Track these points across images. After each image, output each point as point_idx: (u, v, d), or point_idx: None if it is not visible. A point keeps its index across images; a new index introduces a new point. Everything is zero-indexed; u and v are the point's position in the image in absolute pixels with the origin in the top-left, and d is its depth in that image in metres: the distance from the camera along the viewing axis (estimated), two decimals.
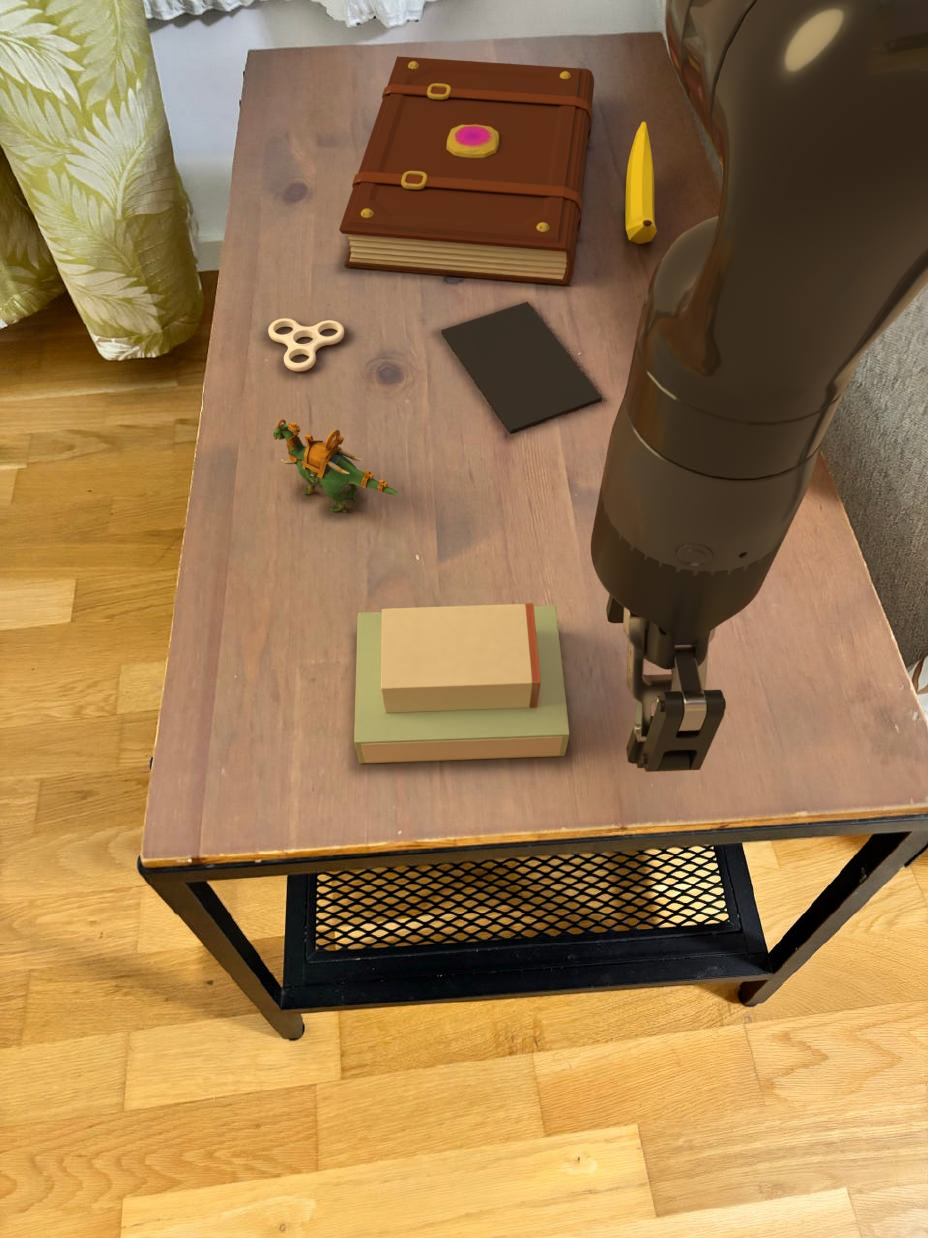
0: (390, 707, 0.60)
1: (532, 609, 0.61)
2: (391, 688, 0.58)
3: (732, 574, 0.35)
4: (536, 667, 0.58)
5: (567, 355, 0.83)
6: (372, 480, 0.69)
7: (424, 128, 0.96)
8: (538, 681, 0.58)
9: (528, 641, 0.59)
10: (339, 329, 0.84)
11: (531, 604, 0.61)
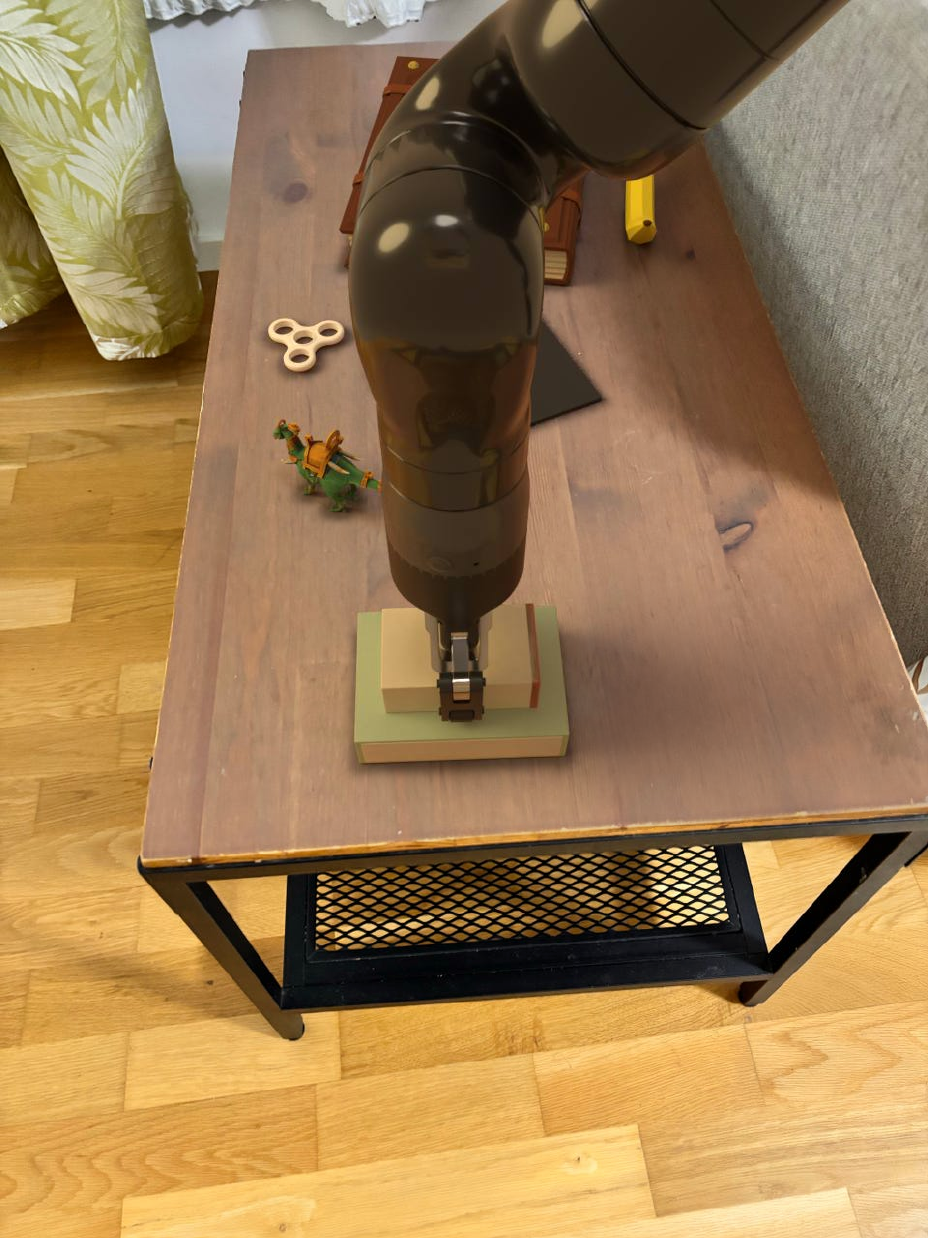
0: (390, 707, 0.60)
1: (532, 609, 0.61)
2: (391, 688, 0.58)
3: (474, 578, 0.47)
4: (536, 667, 0.58)
5: (567, 355, 0.83)
6: (372, 480, 0.69)
7: None
8: (538, 681, 0.58)
9: (528, 641, 0.59)
10: (339, 329, 0.84)
11: (531, 604, 0.61)
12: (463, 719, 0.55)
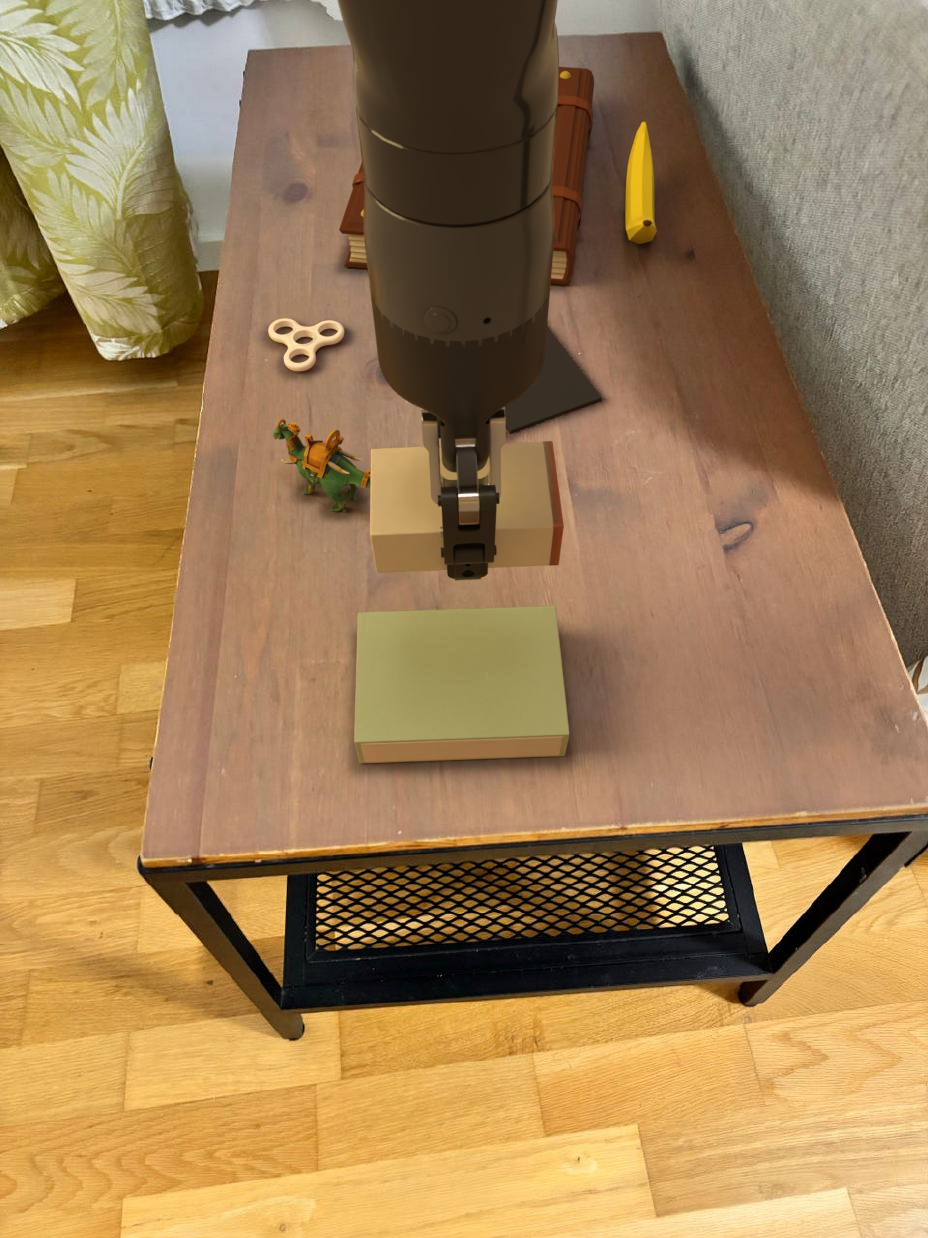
0: (382, 564, 0.50)
1: (551, 447, 0.51)
2: (382, 535, 0.48)
3: (484, 346, 0.37)
4: (558, 509, 0.48)
5: (567, 355, 0.83)
6: None
7: None
8: (561, 525, 0.48)
9: (547, 481, 0.49)
10: (339, 329, 0.84)
11: (550, 442, 0.51)
12: (471, 560, 0.45)
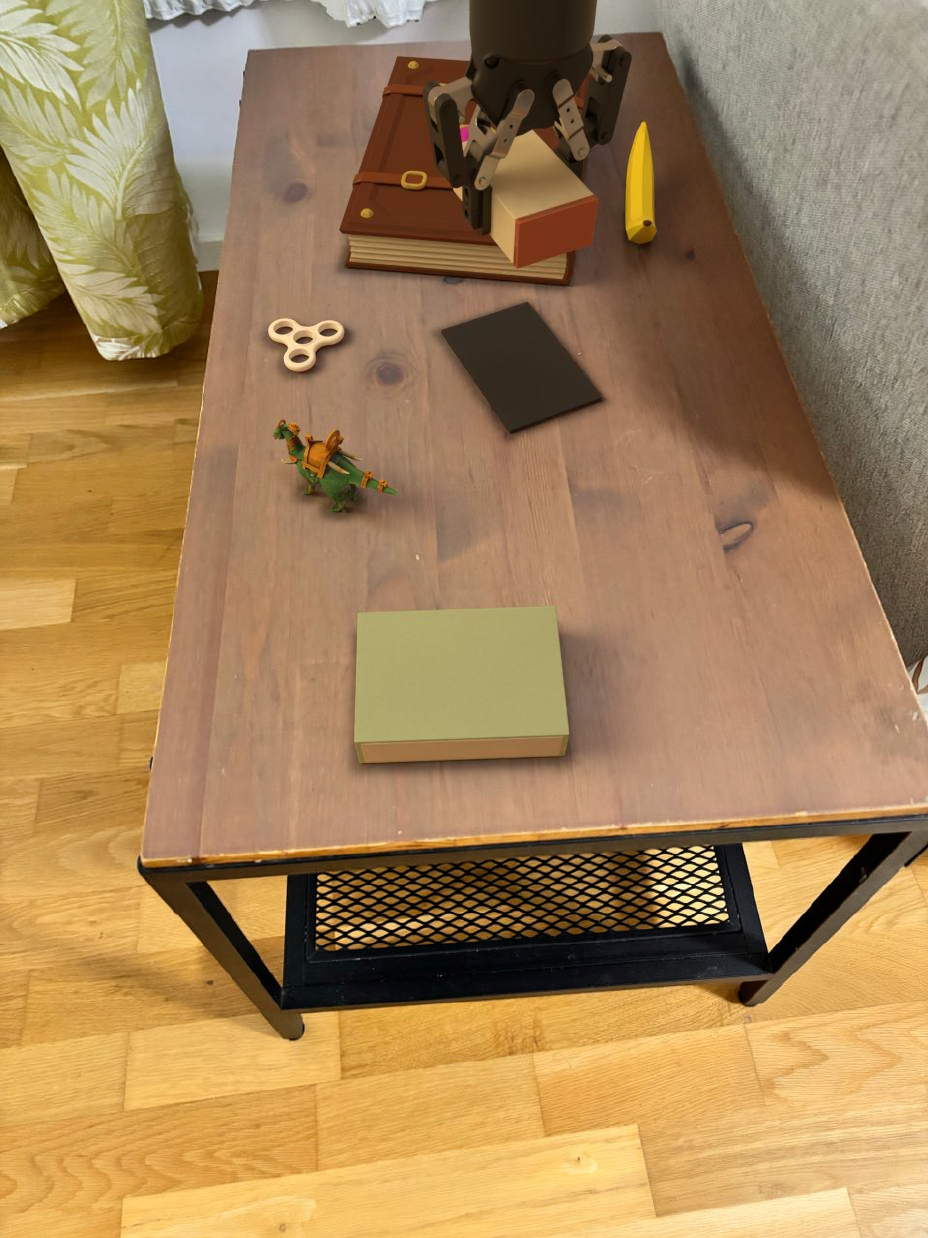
0: None
1: (591, 199, 0.61)
2: None
3: None
4: (532, 217, 0.60)
5: (567, 355, 0.83)
6: (372, 480, 0.69)
7: (424, 127, 0.96)
8: (519, 221, 0.60)
9: (556, 205, 0.61)
10: (339, 329, 0.84)
11: (596, 197, 0.62)
12: (443, 172, 0.60)
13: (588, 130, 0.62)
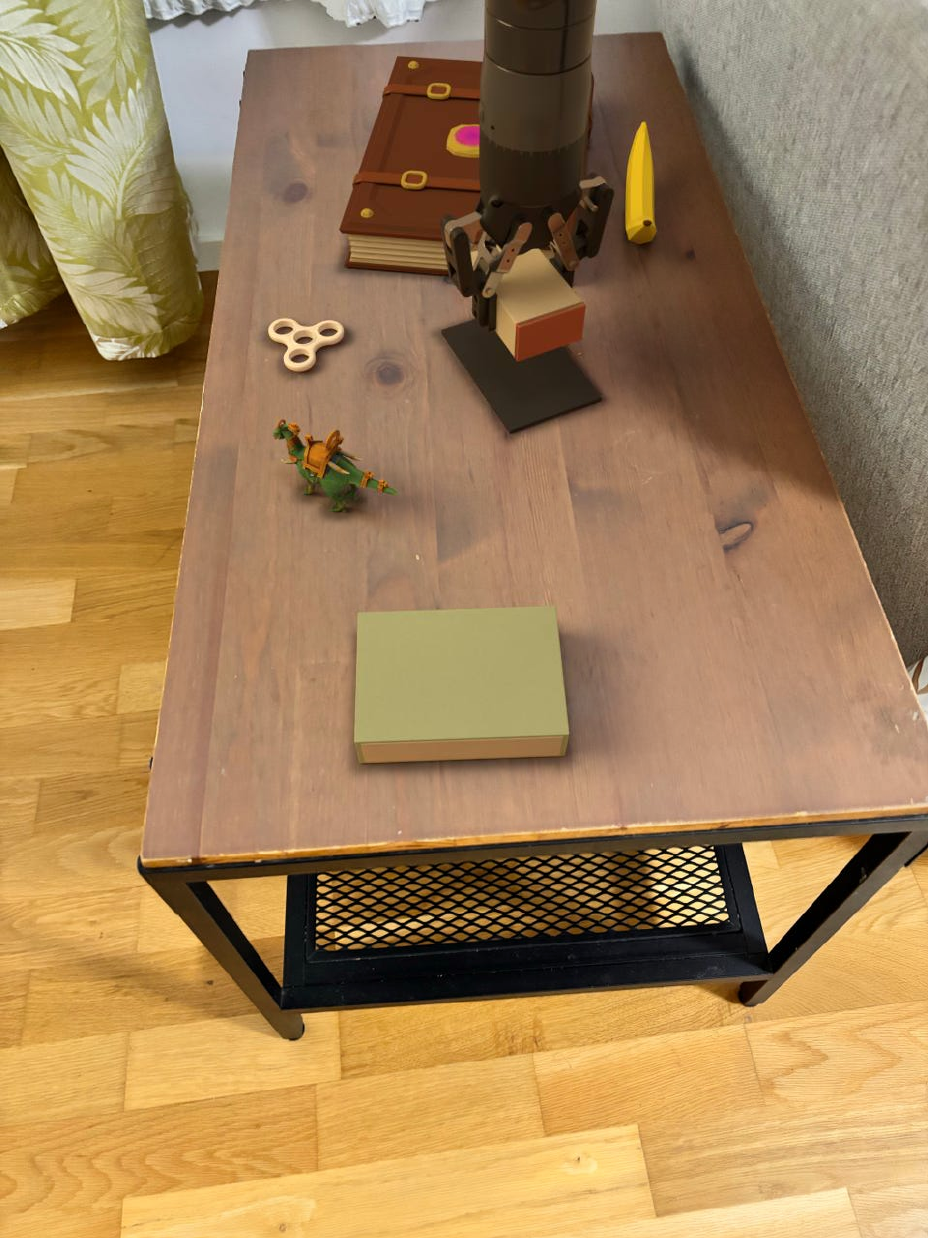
0: None
1: (579, 306, 0.73)
2: None
3: (491, 144, 0.63)
4: (530, 321, 0.72)
5: (567, 355, 0.83)
6: (372, 480, 0.69)
7: (424, 127, 0.96)
8: (519, 326, 0.72)
9: (550, 311, 0.73)
10: (339, 329, 0.84)
11: (584, 304, 0.73)
12: (456, 284, 0.72)
13: (578, 246, 0.74)
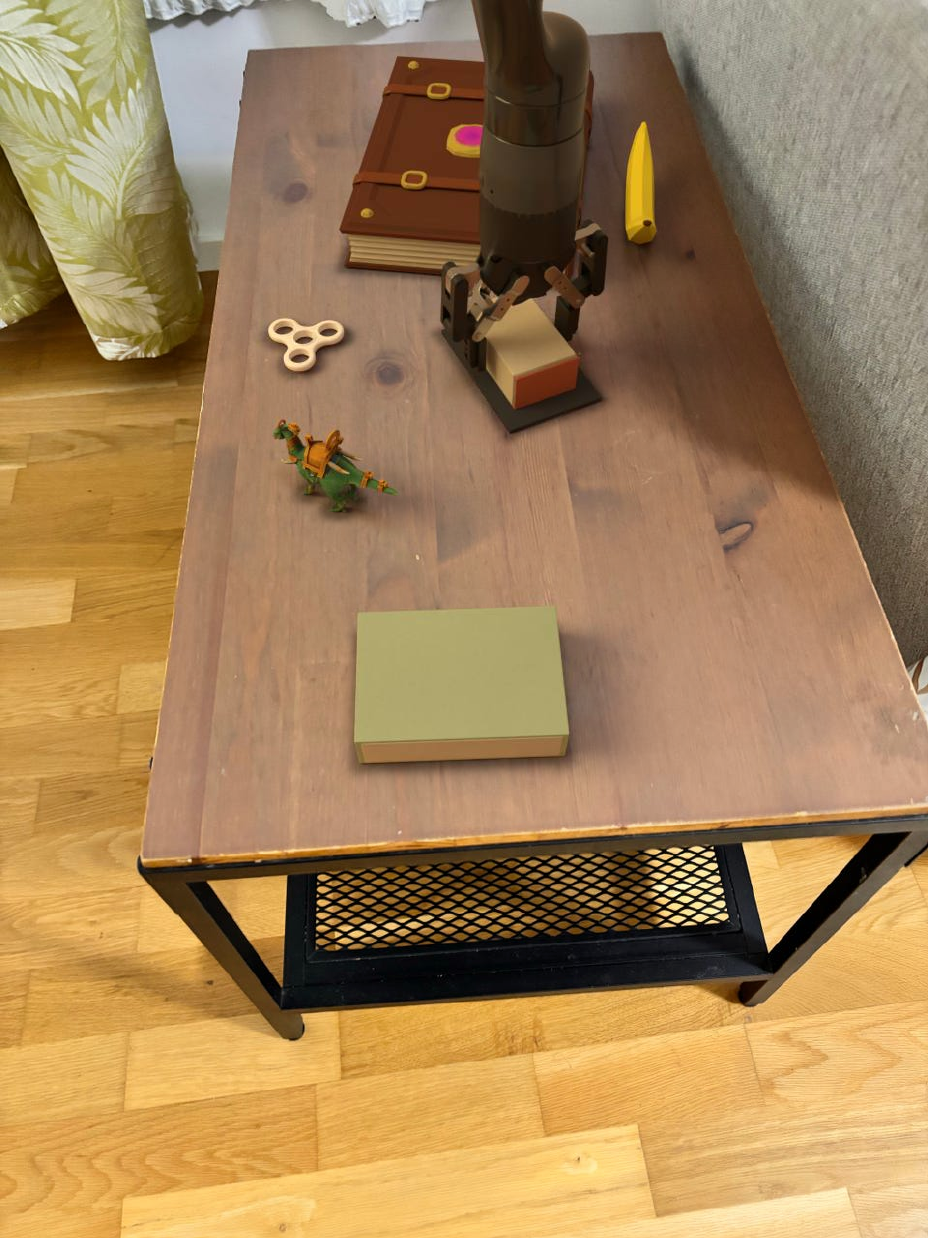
0: None
1: (573, 358, 0.78)
2: None
3: (490, 206, 0.67)
4: (527, 374, 0.77)
5: None
6: (372, 480, 0.69)
7: (424, 127, 0.96)
8: (517, 378, 0.77)
9: (545, 364, 0.77)
10: (339, 329, 0.84)
11: (577, 357, 0.78)
12: (446, 329, 0.76)
13: None
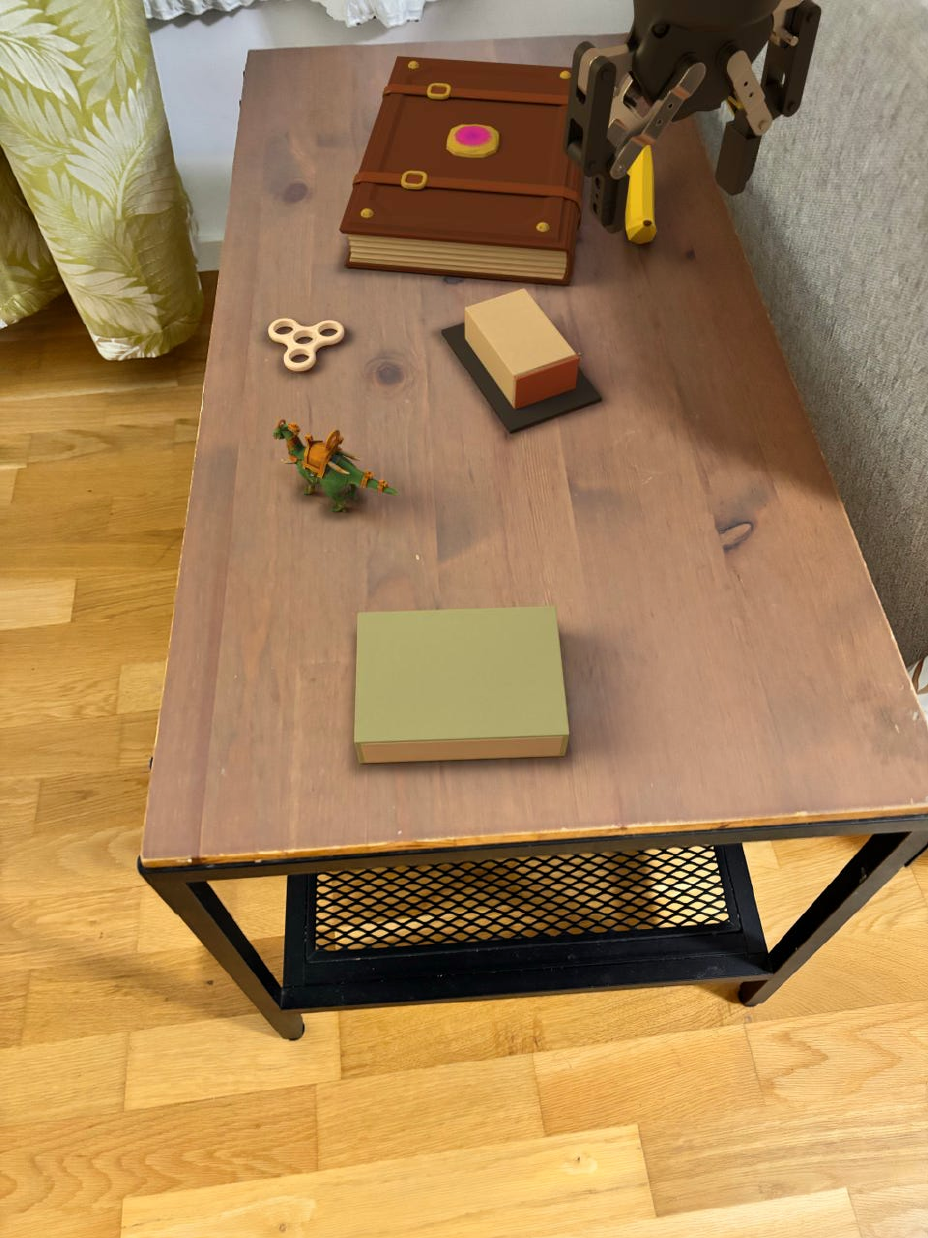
0: (466, 333, 0.83)
1: (573, 358, 0.78)
2: (467, 312, 0.81)
3: None
4: (527, 374, 0.77)
5: None
6: (372, 480, 0.69)
7: (424, 127, 0.96)
8: (517, 378, 0.77)
9: (545, 364, 0.77)
10: (339, 329, 0.84)
11: (577, 357, 0.78)
12: (574, 158, 0.51)
13: None
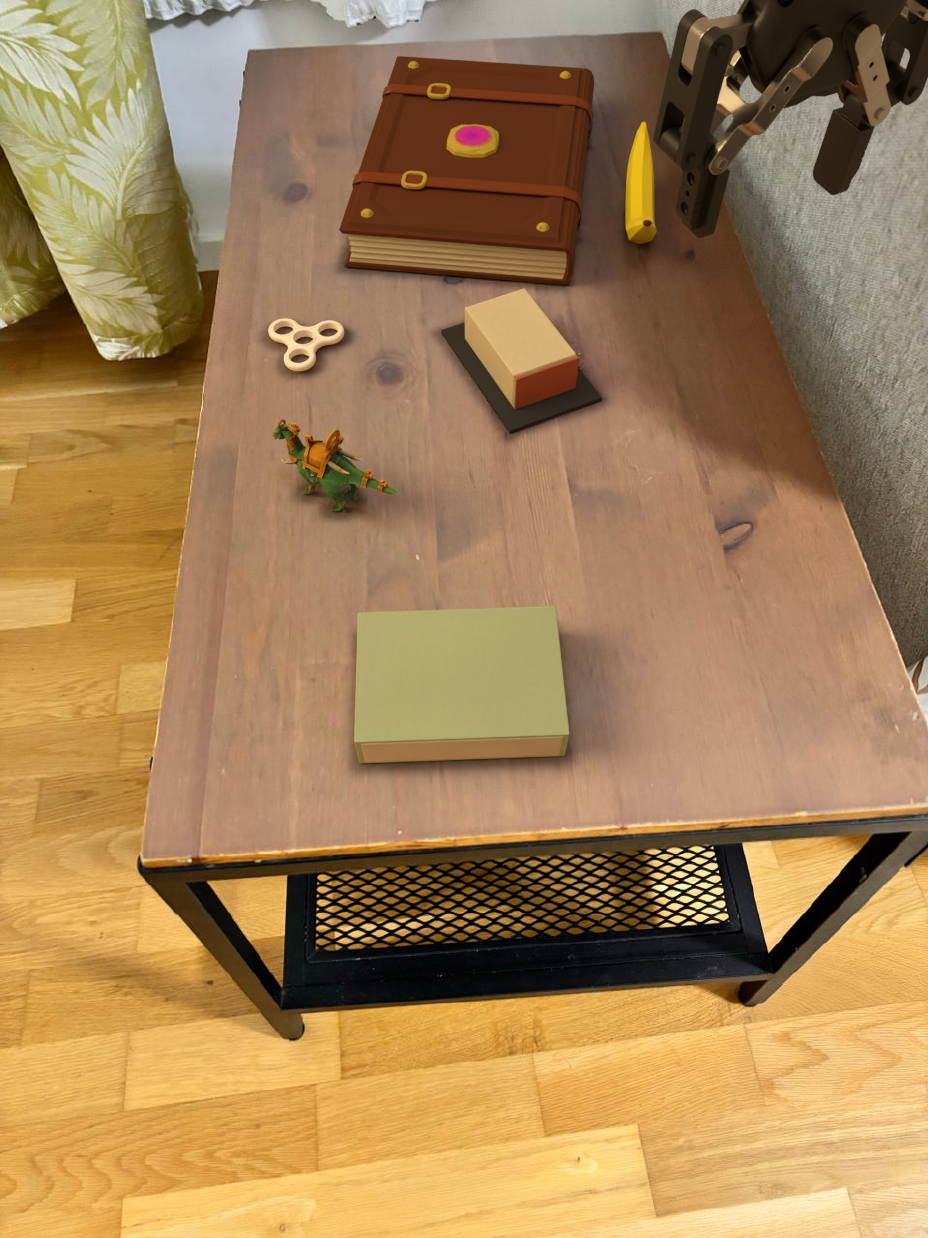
0: (466, 333, 0.83)
1: (573, 358, 0.78)
2: (467, 312, 0.81)
3: None
4: (527, 374, 0.77)
5: None
6: (372, 480, 0.69)
7: (424, 127, 0.96)
8: (517, 378, 0.77)
9: (545, 364, 0.77)
10: (339, 329, 0.84)
11: (577, 357, 0.78)
12: (668, 149, 0.43)
13: None
